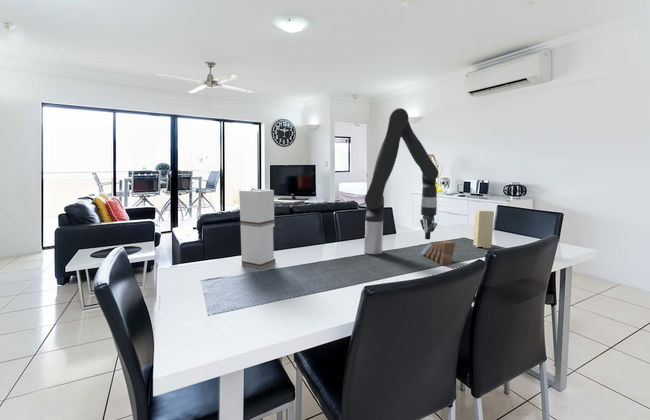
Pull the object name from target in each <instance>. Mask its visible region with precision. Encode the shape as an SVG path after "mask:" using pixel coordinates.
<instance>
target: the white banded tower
mask: <svg viewBox="0 0 650 420" xmlns="http://www.w3.org/2000/svg"><path fill="white" fill-rule="evenodd" d="M238 191H239V193H238V194H239V195H238V196H239V218H240V219H239V221H240V226H239V227H240V246H241V247H240V249H241V255H240V256H241V266H244V265H245V267H248V266H250V267H249V268H253V267H255V269H258V268H259V270H261V268H262V269H264V268H266V266H267V267H268V266H271V264H272V265H274V264H276V258H274V255H275V254H274V252H275V251H274V228H275V227H276V226H275V189H260V188H259V189H257V188H254V189H253V190H238Z"/></svg>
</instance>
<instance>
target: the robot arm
mask: <svg viewBox="0 0 650 420" xmlns="http://www.w3.org/2000/svg"><path fill="white" fill-rule="evenodd" d="M409 117H410V116H409V114H408V112H407V110H406V109H404V108H395V109H394V110H393V111H391V113H390V115H389V118H388V125H387V130H386V132H385V137H384V139H383V142H382V144H381V146H380V149H379V150H378V151H379V152H378V155H377V159H376V161H375V164H374V168H373V174H372V178H371V182H370V185H369V187H368V190H367V192H366V194H365V196H364V203H365V205H366V211H365V217H364V218H365V221H364V222H365V223H364V225H365V227H364V229H365V230H364V250H363V251H364V254H368V255H381V254H383V240H384V239H383V238H384V237H383V234H384V233H383V232H384V231H383V230H384V229H383V228H384V226H383V225H384V213H385V212H384V210H385V196H384V191H385V188H386V185H387V182H388V180H389V179H390V176H391V174H392V172H393V170H394V167H395V163H396V160H397V157H398V153H399V149H400V147H399V146H400V142H401V139H402V140H403V142H404V144H405V146H406V148H407V150H408V152H409V154H410V155H411V157H412V158H413V161H414V162H415V164H416V165H417V166H418V167H419V169H420V171H421V174H422V175H421V181H422V191H421V193H422V194H421V202H420V203H421V205H420V206H421V207H420V214H421V216H422V219H419V222H420V226H421V228H422V231H424V240H431V233H432V232H435V229H436V227H437V225H438V223H437V222H435V216H436V215H437V208H438V207H437V206H438V205H437V203H438V199H437V193H438V191H437V190H438V189H437V188H438V187H437V185H436V184H437V181H436V180H437V178H438V177H439V170H438V168H437V167H436V165H435V164H434V162H433V160H432V159H431V158H430V156H429V154H428V151H427V150H426V149H425V147H424V145H423V144H422V142H421V141H420V140H419V138H418V136H416V133H415V132H414V131H413V129H412V126H411V124H410V121H409Z"/></svg>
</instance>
